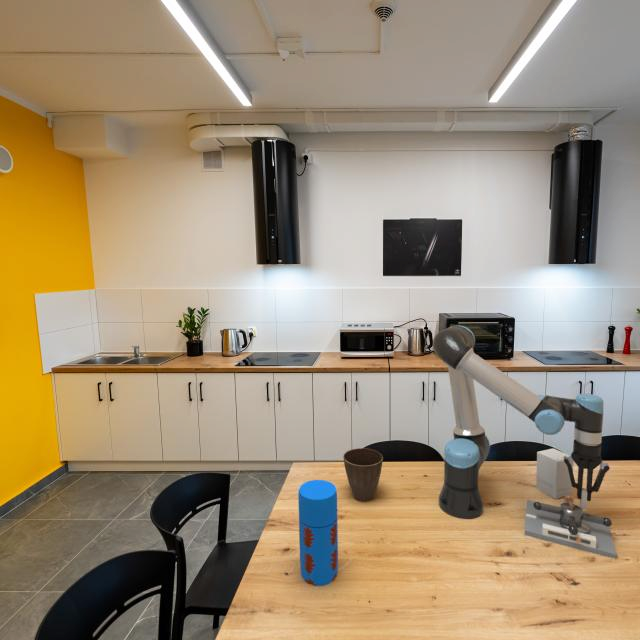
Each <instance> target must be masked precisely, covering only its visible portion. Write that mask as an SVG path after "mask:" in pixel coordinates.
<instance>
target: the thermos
mask: <svg viewBox="0 0 640 640" xmlns="http://www.w3.org/2000/svg"><path fill="white" fill-rule="evenodd" d="M337 491H338V490H337V487H336V485H335V484H334V483H333V482H330V481H328V480H323V479H312V480H308V481H306V482H304V483H303V484H301V485H300V486H299V488H298V493H297V494H298V497H297V498H298V527H299V528H298V533H299V536H298V537H299V539H298V540H299V562H300V574H301V578H302V579H303V581H305V582H306V583H307V584H308V585H311V586H315V587H316V586H317V587H323V586H326V585H329V584H331V583H332V582H333V581H334V580H335V579H336V577H337V575H338V571H339V570H338V567H339V542H338V540H339V536H338V527H339V526H338V525H339V524H338V492H337Z"/></svg>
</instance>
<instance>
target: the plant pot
mask: <svg viewBox="0 0 640 640" xmlns="http://www.w3.org/2000/svg"><path fill="white" fill-rule="evenodd" d="M342 457H343V464H344V465H343V466H344V469H345V473H346V477H347V481H348V485H349V487H350V490H351V493H352V496H353V497H354V499H355V500H357V501H359V502H369V501H371V500H372V499H373V498H374V496H375V494H376V491H377V488H378V485H379V481H380V477H381V473H382V467H383V460H384V457H383V454H382V453H380V452H379V451H377V450H375V449H371V448H365V447H364V448H362V447H361V448H353V449H349V450H348V451H346V452H345V453H343V456H342Z"/></svg>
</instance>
